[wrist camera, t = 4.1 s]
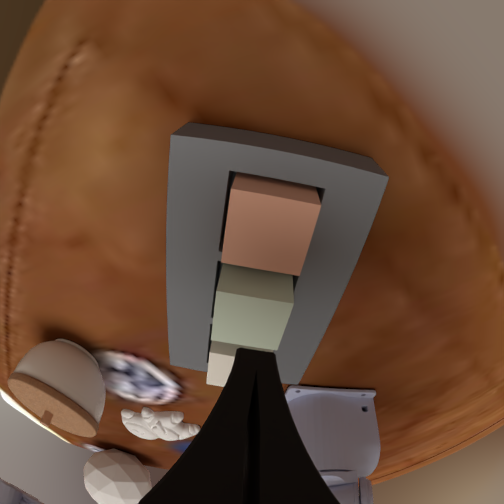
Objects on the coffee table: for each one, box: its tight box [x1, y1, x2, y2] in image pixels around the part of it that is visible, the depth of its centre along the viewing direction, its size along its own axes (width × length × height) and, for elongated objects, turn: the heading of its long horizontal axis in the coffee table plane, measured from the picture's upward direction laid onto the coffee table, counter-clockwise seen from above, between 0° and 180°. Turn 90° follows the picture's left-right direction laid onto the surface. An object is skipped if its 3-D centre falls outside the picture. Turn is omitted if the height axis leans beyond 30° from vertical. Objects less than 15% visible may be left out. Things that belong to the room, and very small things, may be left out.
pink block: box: [221, 172, 321, 276], centre depth 15 cm, size 4×4×3 cm
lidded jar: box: [8, 339, 105, 437], centre depth 25 cm, size 11×11×9 cm
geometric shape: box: [83, 448, 152, 504], centre depth 45 cm, size 14×15×15 cm
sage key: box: [211, 263, 294, 350], centre depth 17 cm, size 4×4×3 cm
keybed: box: [166, 122, 389, 385], centre depth 19 cm, size 10×17×3 cm, turn 171°
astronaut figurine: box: [121, 407, 200, 441], centre depth 35 cm, size 9×12×3 cm
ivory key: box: [206, 340, 273, 387], centre depth 20 cm, size 4×4×3 cm
